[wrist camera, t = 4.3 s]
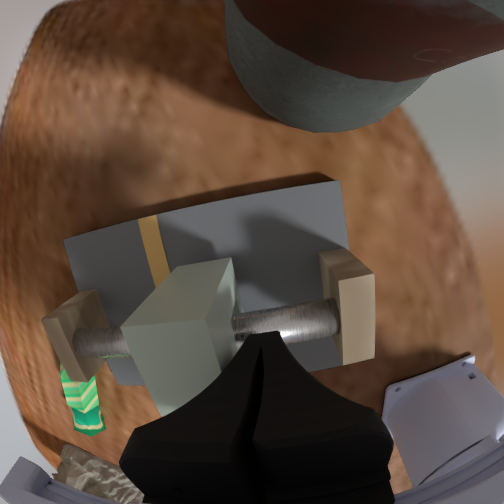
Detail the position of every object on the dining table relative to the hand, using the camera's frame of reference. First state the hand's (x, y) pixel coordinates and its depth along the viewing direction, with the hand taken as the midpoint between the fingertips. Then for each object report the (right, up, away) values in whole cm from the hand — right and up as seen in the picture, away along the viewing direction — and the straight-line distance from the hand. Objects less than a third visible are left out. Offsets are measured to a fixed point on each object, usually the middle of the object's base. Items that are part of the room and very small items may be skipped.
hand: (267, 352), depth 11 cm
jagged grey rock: (-21, -30, +16) cm, 39 cm away
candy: (-15, -7, +10) cm, 19 cm away
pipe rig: (-4, +1, +7) cm, 8 cm away
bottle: (+3, +15, +3) cm, 16 cm away
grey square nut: (-3, +1, +5) cm, 5 cm away
